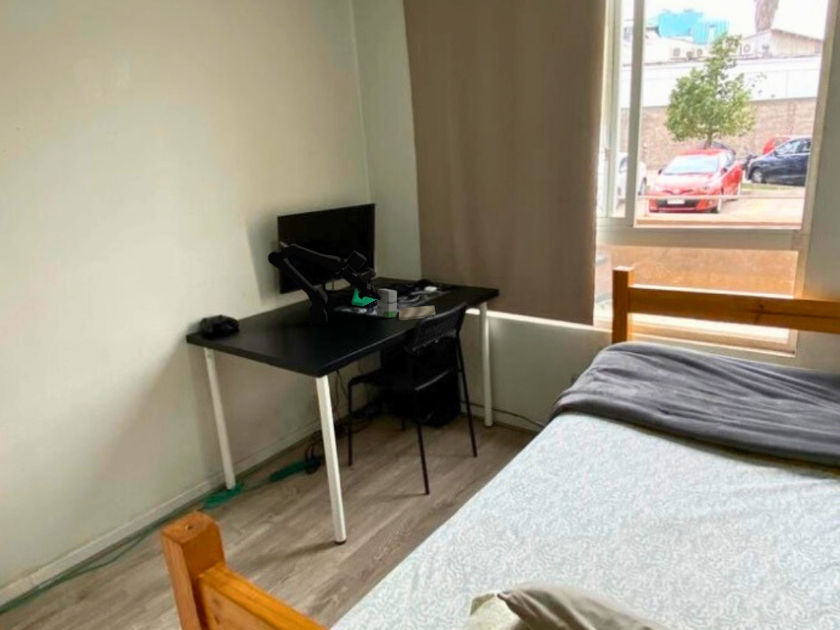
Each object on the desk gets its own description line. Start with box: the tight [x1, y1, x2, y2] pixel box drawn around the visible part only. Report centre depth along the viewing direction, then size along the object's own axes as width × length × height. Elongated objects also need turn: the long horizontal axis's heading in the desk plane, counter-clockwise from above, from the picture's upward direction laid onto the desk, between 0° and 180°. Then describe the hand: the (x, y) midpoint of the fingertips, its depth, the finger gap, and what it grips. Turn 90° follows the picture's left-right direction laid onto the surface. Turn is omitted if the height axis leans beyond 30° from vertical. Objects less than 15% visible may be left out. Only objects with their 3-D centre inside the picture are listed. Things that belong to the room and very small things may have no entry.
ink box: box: [376, 288, 398, 318], centre depth 250 cm, size 9×5×12 cm, turn 42°
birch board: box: [398, 305, 436, 321], centre depth 250 cm, size 16×14×1 cm
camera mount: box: [351, 288, 376, 307], centre depth 274 cm, size 12×8×10 cm, turn 136°
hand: (380, 299), depth 248 cm, fingers closed
